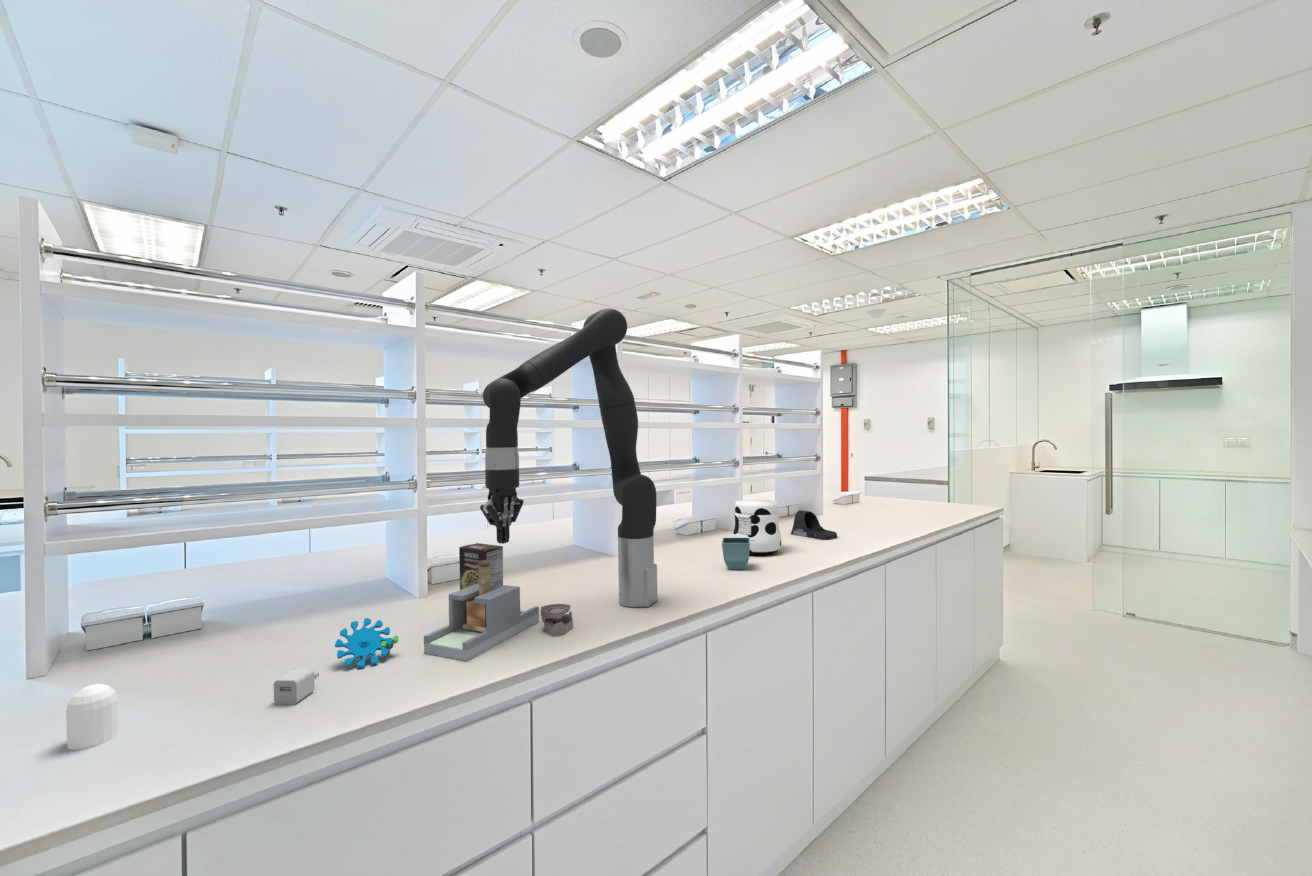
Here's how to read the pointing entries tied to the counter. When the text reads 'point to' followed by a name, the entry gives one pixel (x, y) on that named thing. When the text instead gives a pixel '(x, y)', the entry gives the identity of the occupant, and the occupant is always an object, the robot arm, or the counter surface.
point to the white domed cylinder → (92, 717)
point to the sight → (810, 527)
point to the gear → (365, 643)
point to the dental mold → (556, 619)
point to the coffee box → (470, 563)
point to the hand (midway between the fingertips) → (503, 542)
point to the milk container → (758, 525)
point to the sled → (478, 610)
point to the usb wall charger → (294, 686)
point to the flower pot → (736, 552)
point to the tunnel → (499, 622)
